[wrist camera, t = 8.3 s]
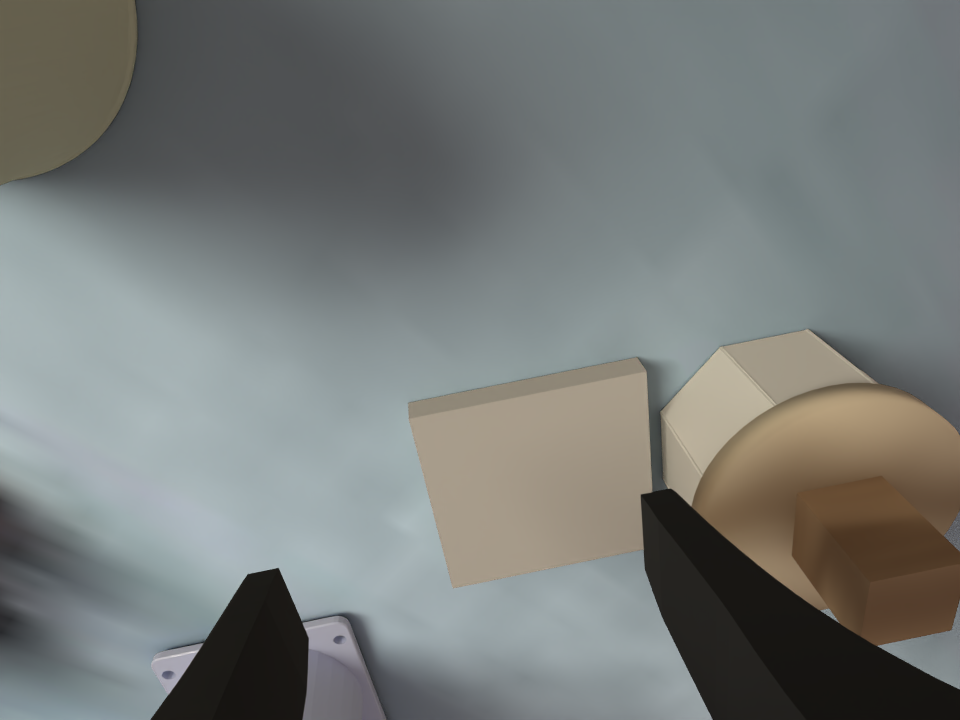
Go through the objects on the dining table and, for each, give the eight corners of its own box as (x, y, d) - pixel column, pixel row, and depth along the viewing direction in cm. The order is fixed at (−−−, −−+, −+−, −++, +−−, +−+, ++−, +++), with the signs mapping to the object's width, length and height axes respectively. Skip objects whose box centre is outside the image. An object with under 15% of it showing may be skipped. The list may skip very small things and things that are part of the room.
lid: (922, 563, 24) (1028, 676, 20) (691, 611, 23) (750, 734, 19) (968, 357, 19) (1114, 448, 16) (688, 413, 19) (763, 519, 15)
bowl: (847, 484, 27) (914, 556, 23) (663, 521, 27) (704, 600, 23) (869, 316, 23) (954, 372, 20) (657, 358, 23) (704, 422, 20)
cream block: (646, 529, 27) (655, 547, 26) (451, 568, 27) (452, 588, 26) (636, 357, 23) (646, 371, 22) (408, 402, 23) (408, 419, 22)
